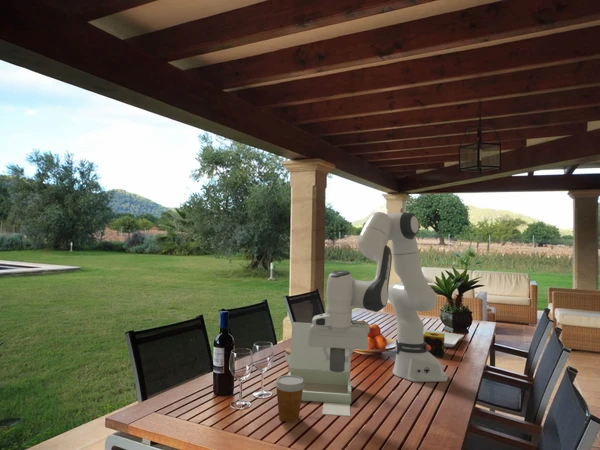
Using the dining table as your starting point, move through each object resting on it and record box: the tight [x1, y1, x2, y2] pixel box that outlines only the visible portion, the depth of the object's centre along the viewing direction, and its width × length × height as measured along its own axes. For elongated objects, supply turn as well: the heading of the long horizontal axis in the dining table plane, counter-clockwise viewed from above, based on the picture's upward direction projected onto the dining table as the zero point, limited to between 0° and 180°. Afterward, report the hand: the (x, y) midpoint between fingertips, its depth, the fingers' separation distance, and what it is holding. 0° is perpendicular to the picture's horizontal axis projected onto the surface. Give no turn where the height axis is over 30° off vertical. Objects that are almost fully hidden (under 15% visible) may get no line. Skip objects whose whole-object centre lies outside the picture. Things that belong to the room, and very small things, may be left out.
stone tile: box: [321, 402, 351, 417], centre depth 132 cm, size 9×9×1 cm
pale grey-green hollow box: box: [287, 321, 352, 405], centre depth 151 cm, size 24×25×23 cm
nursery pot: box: [330, 348, 345, 372], centre depth 133 cm, size 5×5×9 cm
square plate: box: [423, 329, 465, 348], centre depth 230 cm, size 27×27×4 cm
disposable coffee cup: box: [274, 374, 305, 423], centre depth 127 cm, size 10×10×12 cm
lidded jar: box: [284, 346, 291, 366], centre depth 177 cm, size 11×11×9 cm
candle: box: [423, 332, 445, 358], centre depth 204 cm, size 10×10×10 cm
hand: (337, 361), depth 133 cm, fingers closed on nursery pot, 5 cm apart
